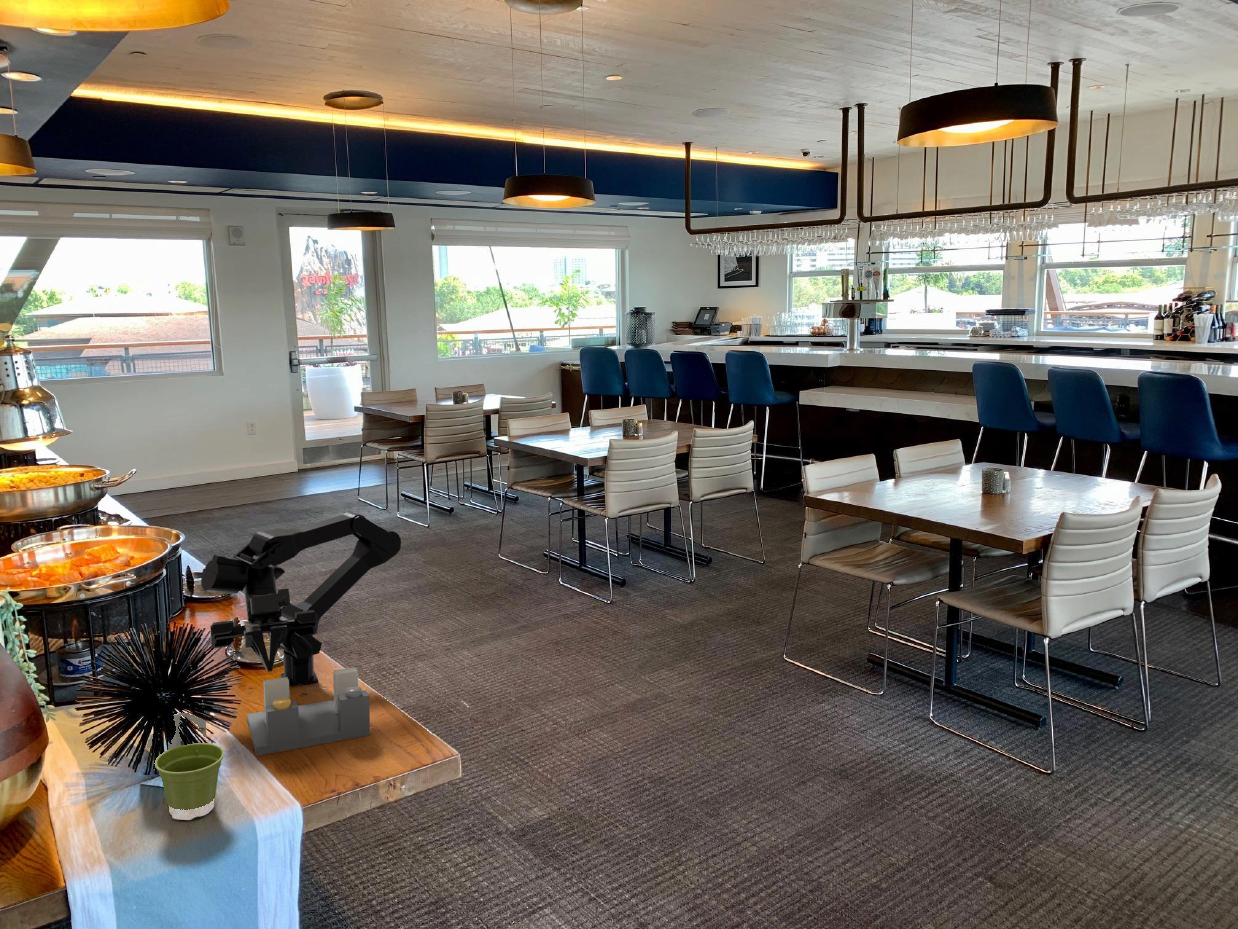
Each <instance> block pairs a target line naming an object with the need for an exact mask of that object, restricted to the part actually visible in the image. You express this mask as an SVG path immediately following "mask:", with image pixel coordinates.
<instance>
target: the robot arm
mask: <svg viewBox="0 0 1238 929" xmlns="http://www.w3.org/2000/svg"><path fill="white" fill-rule="evenodd" d="M350 535H352V536H353V537H354V538H356V539H357V541H356V543H355V546H354V550H353V553H352V554H351V555H350V556H349V557H348V558H347V559H346V560H344V562H343V563H342V564H341V565H340V566H338V568H336V569H335V571H333V572H332V573H331V574H330V575H329V576H328V577H327V578H326V579H325V580H324V581H323V582H322V583H321V584H319V586H318V587H317V588H316V589H315V590H313V592H312V593H311V594H309V595H308V596H307V597H306V598H305V599H304V601H302V602H300V603H298V604H296V605H295V604H293V603H291V597H290V591H289V590H290V589H289V588H281V589H278V588H277V580H278V579H280V578H281V577H282V576H283V575H284V574H285V573H286V571H285V570H284V568H282V567H280V566H279V565H282V564H284V563H286V562H288V561H290V560H292V559H294V558H295V557H296V556H298V554H300V553H301V552H303V551H304V550H307V549H311V548H312V547H317V546H319V545H322V544H325V543H328V542H332V541H335V540H338V539H341V538H344V537H347V536H350ZM401 546H402V539H401V536H400V535H399V533H397V532H395V531H393V530H392V529H391V530H390V529H388V528H384V527H382V526H379V525H377V524H375V523H374V522H372V521H371V520H369V519H368V518H366V517H365V516H364V515H363V514H361V513H360V514H359V513H356V512H354V511H347V512H345V513H343V514H340V515H337V516H334V517H330V518H327V519H323V520H320V521H317V522H313V523H310V524H306V525H303V526H299V527H296V528H290V529H288V528H286V529H285V528H284V529H283V528H282V529H281V528H280V529H279V528H276V529H268V530H267V529H266V530H259V531H257V532H255V533H254V534H253V535H252V538H251V539H250V542H249V543H247V544H246V545H245V546H244V547H243V548H241V549H240V550H239V551H238V552H237V553H236V554H235V555H233V557H230V556H224V555H222V554H218V553H217V554H216V553H214V554H213V556H212V560H210V561H208V562H207V564H206V565H205V567H204V568H203V569H202V572H201V579H200V582H201V587H202V589H203V591H207V592H216V593H224V594H230V595H231V594H232V595H236V594H238V593H240V592H243V591H244V596H245V609H246V617H247V623H246V624H244V625H238V626H235V623H234V620H233V619H231V620H223V621H215V622H212V623H211V625H210V626H209V627H210V629H209V630H210V631H209V633H210V644H211V646H210V647H211V648H212V647H214V648H213V649H221V648H226V647H227V648H228V647H231V645H233V643H235V638H240V637H243V639H244V647H245V648H247V649H248V648H251V650H252V651H253V652H254V653H255V655H256V656H257V657H258V658H259V660H260V662H261V663H262V665H263V667H264V668H265V670H266V672H267V673H270V672H273V669H274V665H275V660H276V656H277V653H278V650H279V649H281V650H283V672H281V673H280V674H279V676H280V678H285V677H287V678H288V680H289V688H290V687H295V686H296V687H298V686H303V685H309V684H316V683H319V678H318V677H317V674H316V672H315V669H314V667H315V666H314V661H315V660H314V656H315V655H319V654H320V652H321V650H322V649H321V648H322V646H323V643H322V642H321V641H319V640H318V639H317V638H315V635H316V634H318V629H319V628H318V627H319V623H320V620H321V619H322V617H323V616H324V615H325V614H326V613H327V612H328V611H329V610H330V609H332V607H333V606H334V605H335V604H337V602H338V601H340V600H341V599H342V597H343V596H345V594H347V592H349V590H350V589H352V588H353V586H354V585H356V584H357V583H358V582H359V581H360V580H361V579H362V578H363V577H364V576H365V575H366V574H367V573H368V572H369V571H370V570H372V569H374V568H376V567H379V566H381V565H383V564H385V563H387V562H389V561H391V559H392V558H394V557H395V556H397V555H398V553H399V552H400V551H401V550H402V547H401ZM277 590H278V591H277ZM264 634H268V638H269V652H268V651H267V647H266V642H265V639H264V638H265V637H264ZM268 653H269V654H268Z"/></svg>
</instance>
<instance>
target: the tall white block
mask: <svg viewBox="0 0 1238 929" xmlns="http://www.w3.org/2000/svg"><path fill="white" fill-rule="evenodd" d="M278 698H289V699H290V687H289V680H288V678H287V677H285V678H281V677H280V678H279V677H278V678H272V679H266V680H263V703H264V704H263V707H264V708H263V709H264V711H265V723H266V706H270V705H273V701H274V700H276V699H278ZM264 711H263V712H264Z"/></svg>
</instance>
